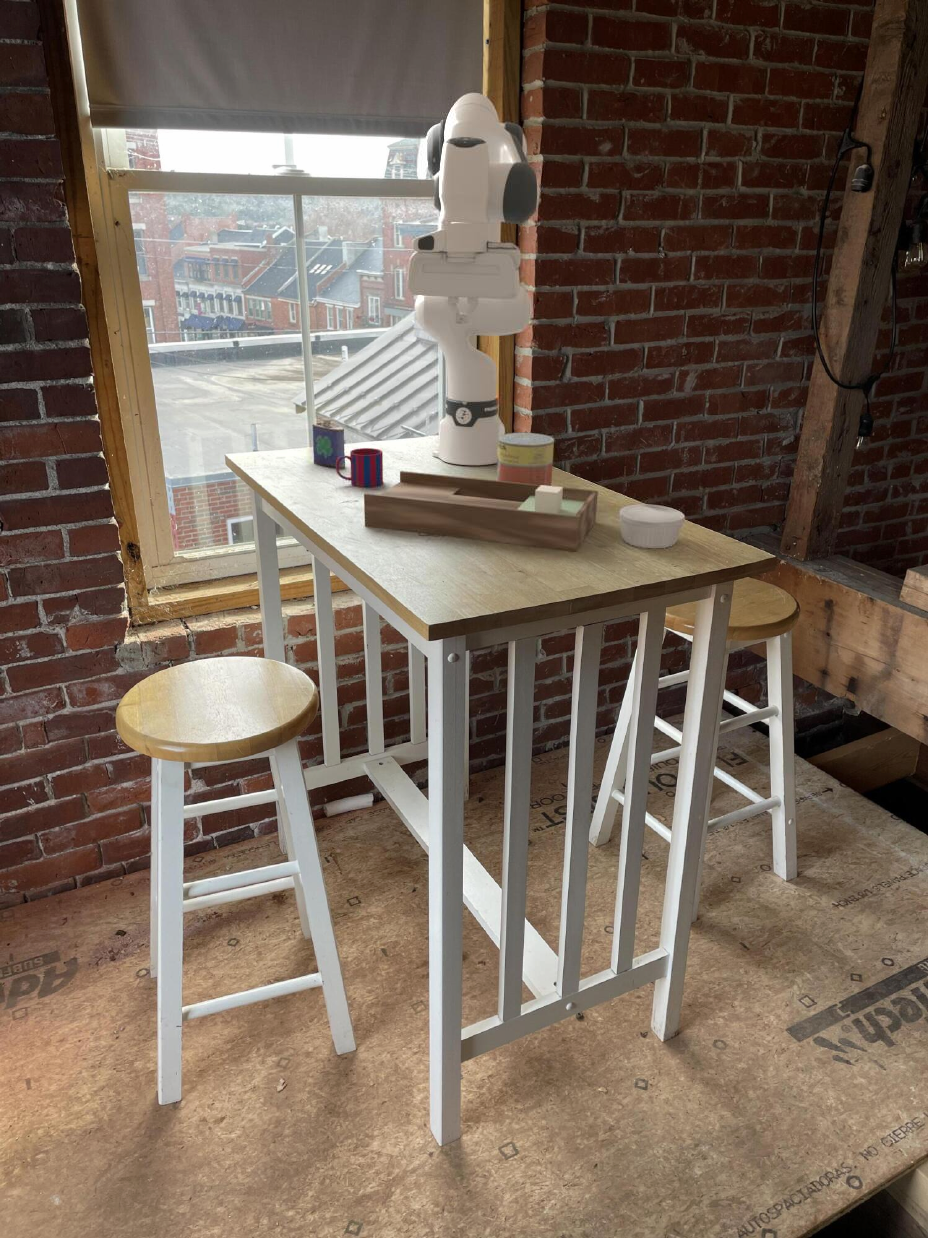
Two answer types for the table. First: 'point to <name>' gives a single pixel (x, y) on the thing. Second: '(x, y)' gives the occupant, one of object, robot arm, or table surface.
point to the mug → (364, 467)
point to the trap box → (481, 511)
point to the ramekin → (650, 525)
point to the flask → (328, 444)
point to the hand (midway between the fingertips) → (462, 323)
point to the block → (548, 499)
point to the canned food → (525, 458)
